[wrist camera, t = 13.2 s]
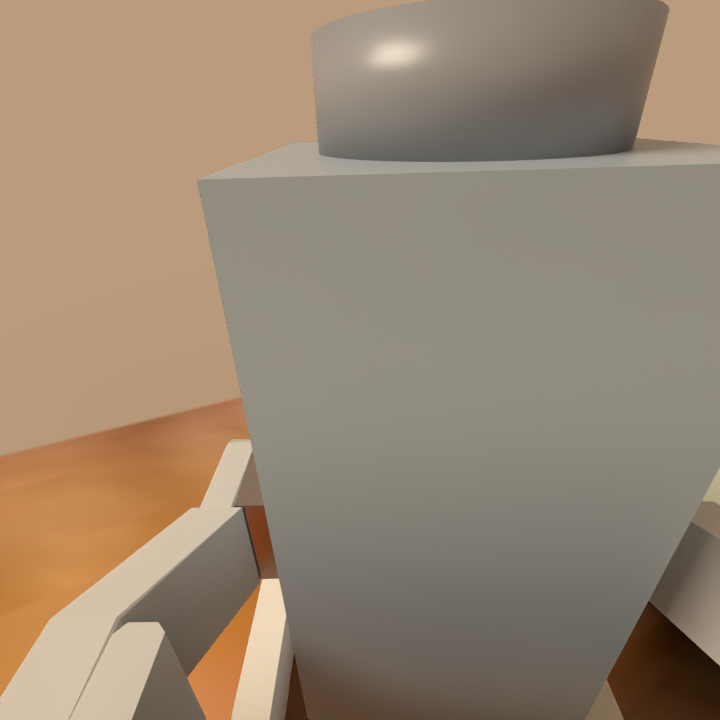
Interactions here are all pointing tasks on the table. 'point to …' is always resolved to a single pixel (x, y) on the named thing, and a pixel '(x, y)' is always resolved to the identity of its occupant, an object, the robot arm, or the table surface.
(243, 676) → the socket collar
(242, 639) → the table surface
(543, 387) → the cartridge
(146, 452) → the table surface
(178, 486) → the table surface
